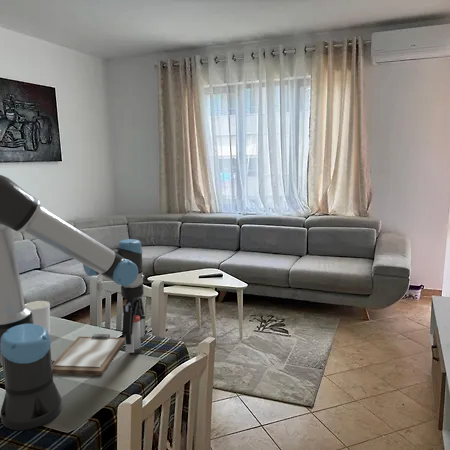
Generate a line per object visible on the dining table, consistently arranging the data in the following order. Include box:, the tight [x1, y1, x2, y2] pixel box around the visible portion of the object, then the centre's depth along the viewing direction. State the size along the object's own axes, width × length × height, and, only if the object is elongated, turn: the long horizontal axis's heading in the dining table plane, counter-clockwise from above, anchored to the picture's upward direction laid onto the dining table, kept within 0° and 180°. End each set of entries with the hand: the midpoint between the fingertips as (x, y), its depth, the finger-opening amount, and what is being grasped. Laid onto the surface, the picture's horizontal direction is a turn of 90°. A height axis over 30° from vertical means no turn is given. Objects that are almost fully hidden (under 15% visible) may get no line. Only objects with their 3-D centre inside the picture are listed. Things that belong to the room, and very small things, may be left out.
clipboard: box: [52, 333, 125, 376], centre depth 145 cm, size 18×24×3 cm
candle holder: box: [24, 300, 51, 335], centre depth 162 cm, size 10×10×12 cm
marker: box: [129, 315, 142, 356], centre depth 147 cm, size 4×4×13 cm
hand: (134, 344), depth 147 cm, fingers open, 11 cm apart
